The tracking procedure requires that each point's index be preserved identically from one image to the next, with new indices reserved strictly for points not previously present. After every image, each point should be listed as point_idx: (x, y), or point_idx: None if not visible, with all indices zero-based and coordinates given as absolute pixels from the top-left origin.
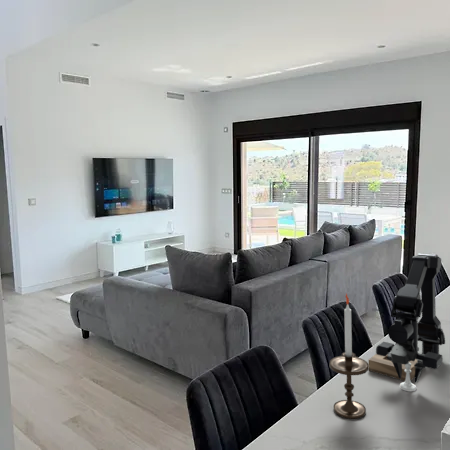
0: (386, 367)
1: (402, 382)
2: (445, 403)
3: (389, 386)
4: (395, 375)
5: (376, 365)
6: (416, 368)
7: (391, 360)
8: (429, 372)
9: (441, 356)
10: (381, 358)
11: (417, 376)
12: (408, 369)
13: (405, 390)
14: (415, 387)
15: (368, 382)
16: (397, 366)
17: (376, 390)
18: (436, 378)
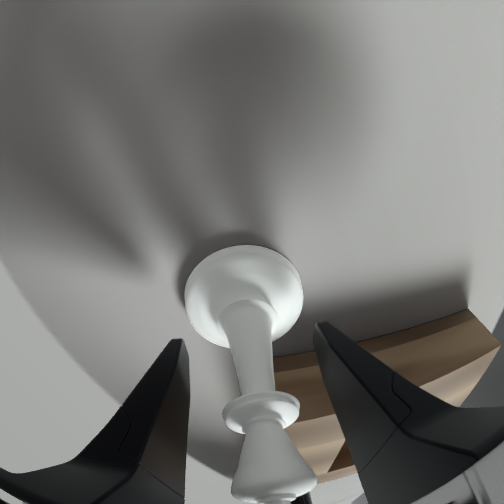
0: (423, 366)
1: (295, 318)
2: (3, 264)
3: (358, 226)
4: None
5: (463, 345)
6: (114, 470)
7: (492, 416)
8: (238, 445)
9: None
10: (448, 398)
11: (138, 387)
12: (252, 432)
13: (235, 246)
14: (189, 317)
15: (465, 190)
16: (385, 402)
17: (406, 106)
18: (190, 432)
